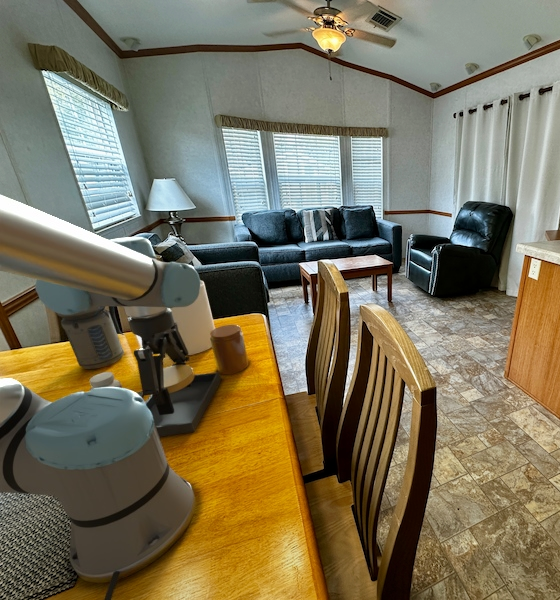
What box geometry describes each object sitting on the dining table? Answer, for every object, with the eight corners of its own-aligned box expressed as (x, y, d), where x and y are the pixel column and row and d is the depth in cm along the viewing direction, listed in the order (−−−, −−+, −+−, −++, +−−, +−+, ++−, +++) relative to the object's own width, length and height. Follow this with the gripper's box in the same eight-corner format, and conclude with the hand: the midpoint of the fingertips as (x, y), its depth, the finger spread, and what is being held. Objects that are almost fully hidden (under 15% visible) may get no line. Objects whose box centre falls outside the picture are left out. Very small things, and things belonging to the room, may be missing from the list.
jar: (244, 372, 91) (237, 335, 87) (213, 375, 89) (204, 338, 85) (251, 357, 98) (244, 323, 94) (222, 360, 97) (214, 325, 92)
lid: (138, 397, 70) (135, 390, 70) (159, 373, 79) (157, 366, 78) (184, 392, 72) (182, 385, 71) (200, 369, 80) (198, 362, 80)
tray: (194, 432, 70) (191, 422, 69) (124, 441, 68) (121, 432, 67) (221, 379, 88) (219, 371, 87) (167, 385, 85) (164, 377, 84)
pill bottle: (128, 414, 76) (114, 378, 72) (98, 423, 73) (82, 387, 69) (130, 401, 80) (117, 367, 76) (102, 409, 77) (87, 374, 73)
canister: (160, 348, 104) (142, 288, 96) (203, 331, 114) (189, 277, 107) (183, 360, 97) (164, 297, 90) (226, 341, 108) (213, 283, 100)
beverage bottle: (140, 355, 100) (113, 277, 90) (84, 376, 89) (47, 291, 80) (126, 346, 105) (100, 271, 96) (72, 365, 95) (36, 284, 85)
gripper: (155, 295, 78) (179, 374, 86) (94, 338, 58) (133, 435, 66) (189, 292, 79) (209, 371, 88) (141, 334, 59) (173, 430, 68)
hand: (176, 398), depth 77 cm, fingers closed on lid, 9 cm apart
